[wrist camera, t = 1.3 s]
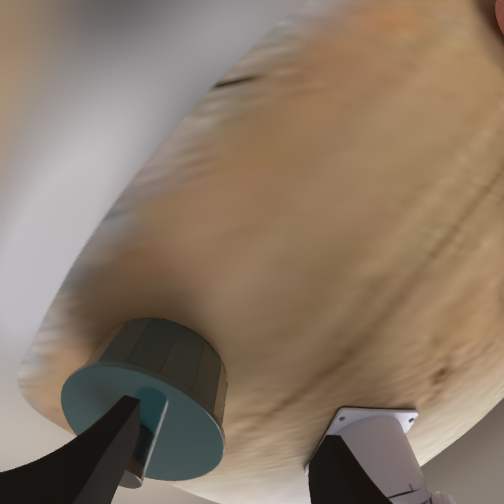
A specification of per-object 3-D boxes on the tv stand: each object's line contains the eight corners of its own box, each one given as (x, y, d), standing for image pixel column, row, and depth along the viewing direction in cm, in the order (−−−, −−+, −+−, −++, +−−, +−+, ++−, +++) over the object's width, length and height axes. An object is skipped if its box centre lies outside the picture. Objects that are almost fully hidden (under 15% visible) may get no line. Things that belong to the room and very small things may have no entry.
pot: (215, 429, 24) (207, 484, 18) (105, 399, 23) (79, 446, 18) (238, 336, 21) (232, 393, 15) (102, 302, 20) (60, 345, 15)
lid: (213, 481, 19) (207, 531, 14) (78, 442, 18) (56, 484, 14) (242, 382, 16) (237, 449, 11) (59, 331, 15) (16, 376, 11)
